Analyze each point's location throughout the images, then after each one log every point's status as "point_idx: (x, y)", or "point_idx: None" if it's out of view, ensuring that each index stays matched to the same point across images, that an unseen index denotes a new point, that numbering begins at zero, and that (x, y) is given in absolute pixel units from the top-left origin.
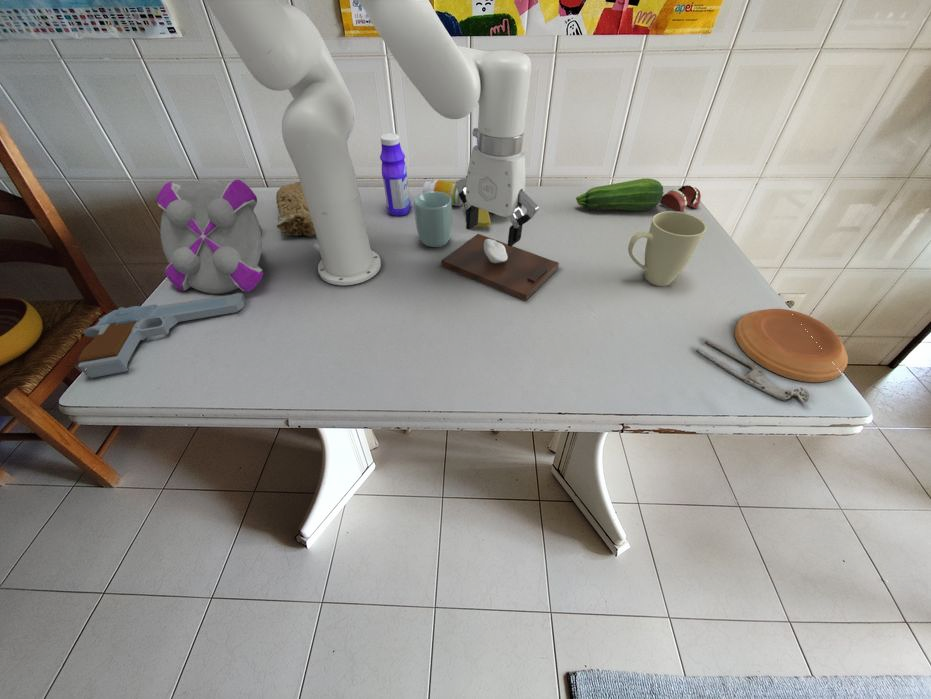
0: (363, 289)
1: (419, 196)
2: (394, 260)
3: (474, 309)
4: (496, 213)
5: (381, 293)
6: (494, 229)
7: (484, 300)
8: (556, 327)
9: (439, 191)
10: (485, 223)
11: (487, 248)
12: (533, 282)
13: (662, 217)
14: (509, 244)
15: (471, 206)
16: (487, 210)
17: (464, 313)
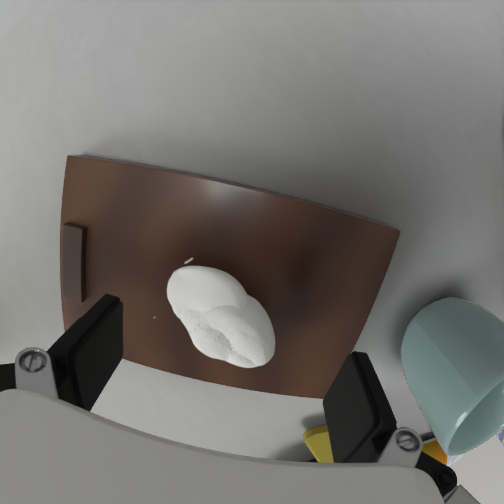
0: (496, 77)
1: None
2: (495, 210)
3: (202, 51)
4: (103, 425)
5: (465, 64)
6: (292, 429)
7: (187, 100)
8: (14, 109)
9: (436, 457)
10: (316, 433)
11: (239, 297)
12: (68, 222)
13: None
14: (108, 298)
15: (375, 455)
16: (208, 455)
17: (224, 26)
